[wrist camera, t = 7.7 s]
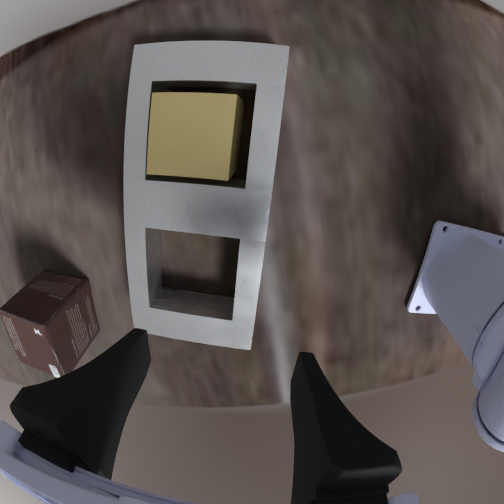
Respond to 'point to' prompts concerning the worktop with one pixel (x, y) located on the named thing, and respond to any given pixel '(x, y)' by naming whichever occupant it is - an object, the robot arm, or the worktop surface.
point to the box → (51, 322)
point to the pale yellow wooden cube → (194, 134)
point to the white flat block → (200, 189)
